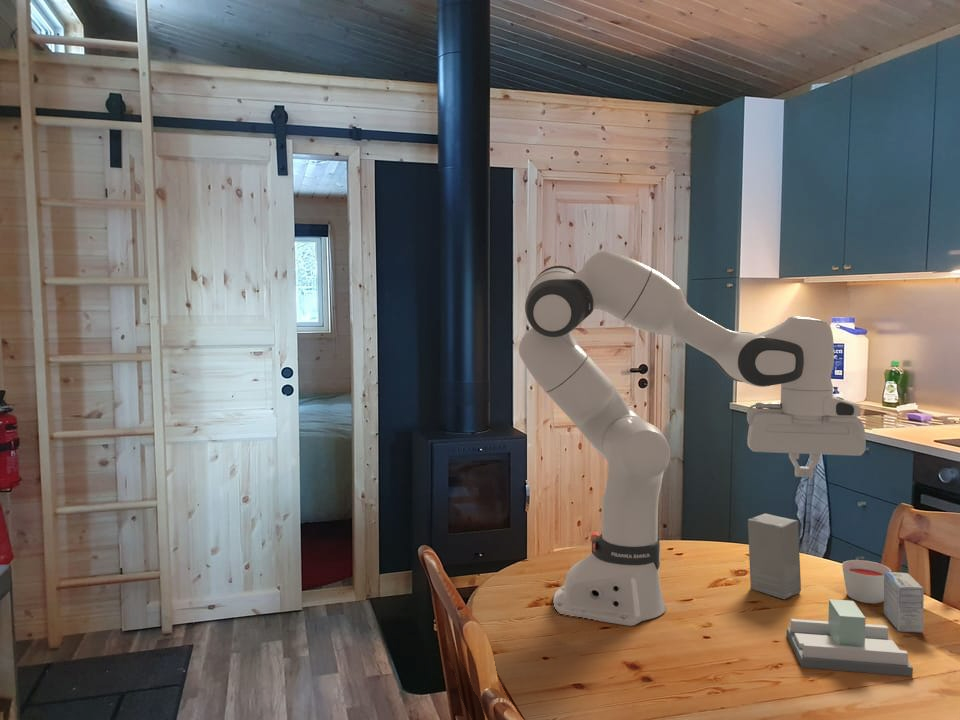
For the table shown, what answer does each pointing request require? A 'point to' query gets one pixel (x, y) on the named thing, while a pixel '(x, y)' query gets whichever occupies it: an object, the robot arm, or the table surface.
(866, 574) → the candle
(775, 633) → the table surface
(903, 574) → the medicine box
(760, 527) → the skincare box
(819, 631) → the rail board
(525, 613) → the table surface
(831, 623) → the rail module
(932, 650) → the table surface
